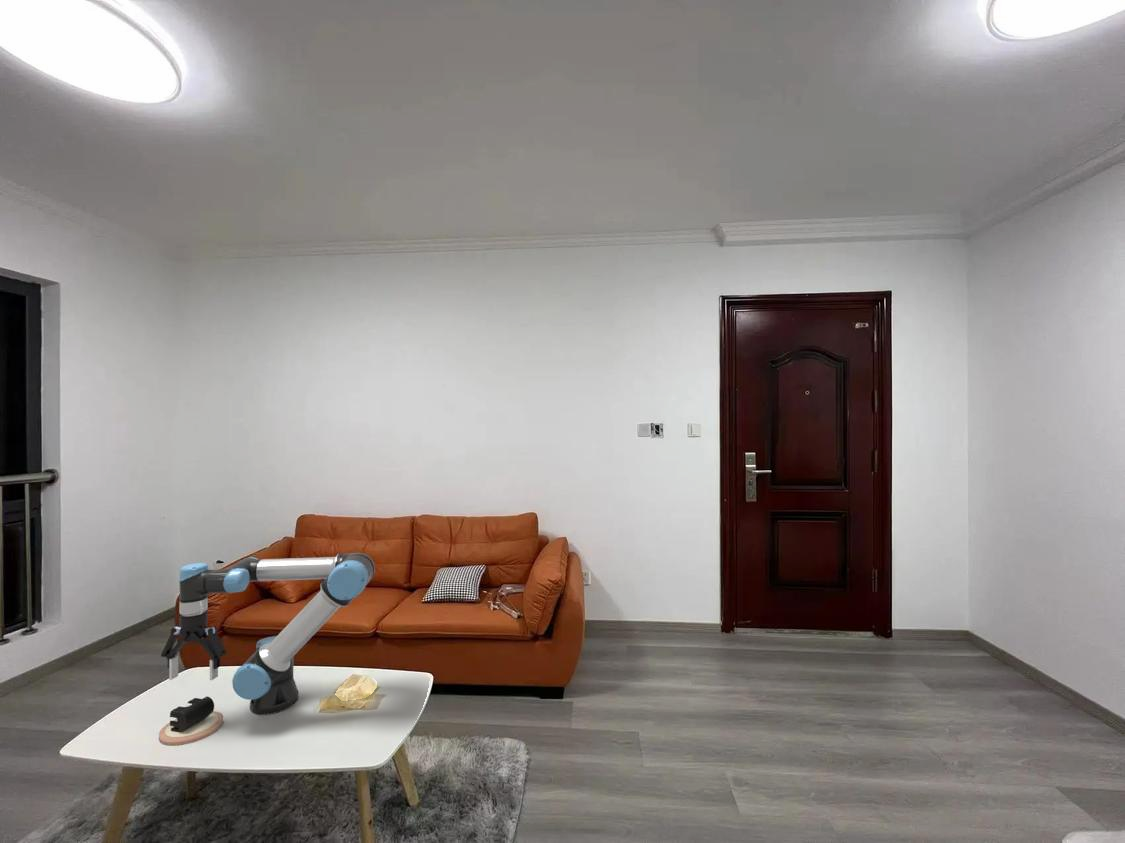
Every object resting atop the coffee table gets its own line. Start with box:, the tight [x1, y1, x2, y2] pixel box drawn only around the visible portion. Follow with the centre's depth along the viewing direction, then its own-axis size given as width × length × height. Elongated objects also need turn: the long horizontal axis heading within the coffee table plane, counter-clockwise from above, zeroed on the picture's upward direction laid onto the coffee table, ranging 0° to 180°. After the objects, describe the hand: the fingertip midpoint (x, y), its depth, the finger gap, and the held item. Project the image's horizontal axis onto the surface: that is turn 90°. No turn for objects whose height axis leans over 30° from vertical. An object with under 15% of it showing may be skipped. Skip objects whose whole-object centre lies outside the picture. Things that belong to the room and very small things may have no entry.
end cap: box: [169, 696, 215, 732], centre depth 167 cm, size 10×7×7 cm
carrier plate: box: [158, 710, 224, 746], centre depth 167 cm, size 17×17×2 cm
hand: (193, 678), depth 168 cm, fingers open, 13 cm apart
